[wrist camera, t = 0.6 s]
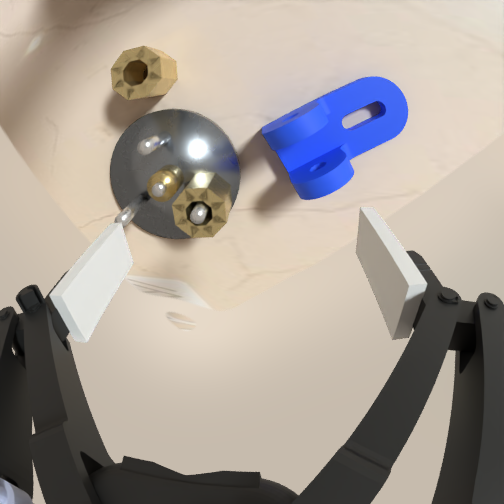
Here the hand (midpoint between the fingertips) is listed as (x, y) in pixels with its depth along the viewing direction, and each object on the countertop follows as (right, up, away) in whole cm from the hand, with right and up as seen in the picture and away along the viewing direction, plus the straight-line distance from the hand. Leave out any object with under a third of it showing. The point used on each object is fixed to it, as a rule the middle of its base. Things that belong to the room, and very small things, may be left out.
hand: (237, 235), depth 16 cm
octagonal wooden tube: (-11, +21, +15) cm, 29 cm away
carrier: (-10, +9, +22) cm, 26 cm away
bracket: (+12, +15, +18) cm, 26 cm away
